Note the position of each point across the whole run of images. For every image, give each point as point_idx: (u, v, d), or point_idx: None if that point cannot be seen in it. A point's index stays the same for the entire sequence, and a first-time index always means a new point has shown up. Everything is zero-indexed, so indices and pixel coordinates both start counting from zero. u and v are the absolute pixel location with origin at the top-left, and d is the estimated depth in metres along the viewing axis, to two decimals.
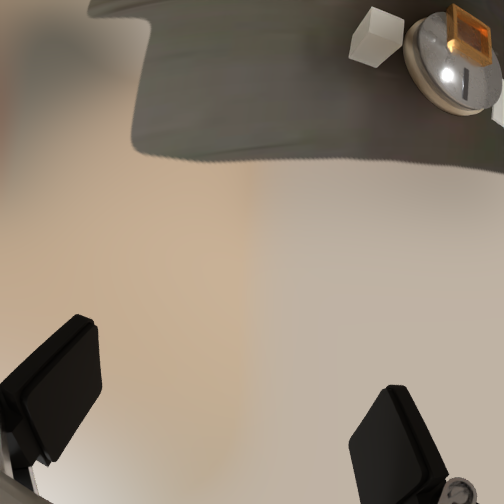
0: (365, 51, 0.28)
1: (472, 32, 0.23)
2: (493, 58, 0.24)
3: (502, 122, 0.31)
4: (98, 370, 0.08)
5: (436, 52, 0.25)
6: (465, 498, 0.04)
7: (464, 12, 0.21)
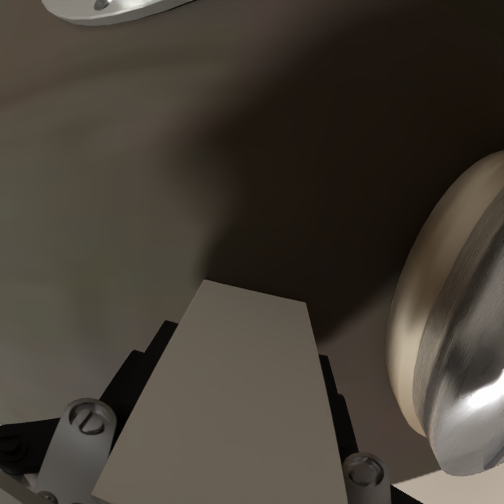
0: None
1: None
2: None
3: None
4: None
5: (491, 401, 0.06)
6: (374, 473, 0.05)
7: None
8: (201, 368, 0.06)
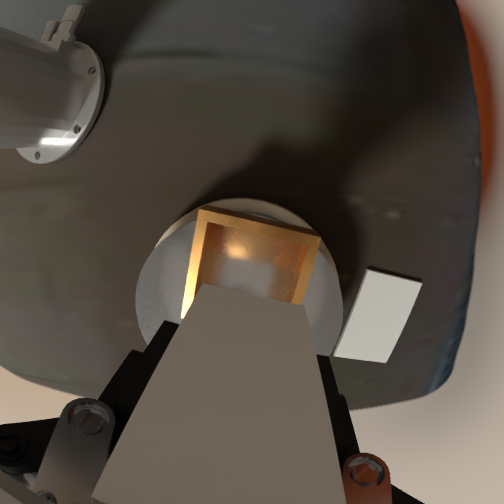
0: None
1: (273, 248, 0.19)
2: (327, 296, 0.20)
3: (358, 355, 0.26)
4: None
5: None
6: (374, 473, 0.05)
7: (233, 223, 0.16)
8: (199, 372, 0.06)
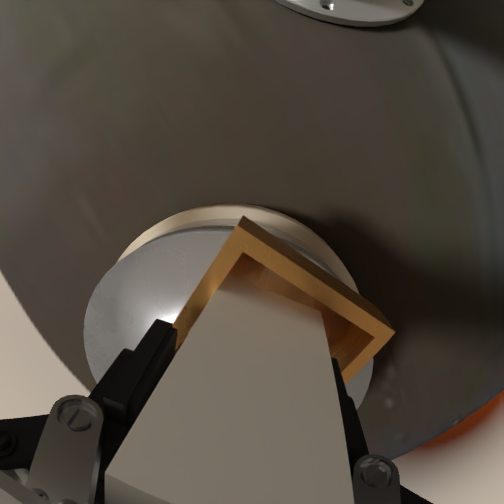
0: None
1: None
2: (350, 389, 0.13)
3: None
4: None
5: (116, 356, 0.13)
6: (384, 474, 0.05)
7: (284, 271, 0.10)
8: (223, 357, 0.07)
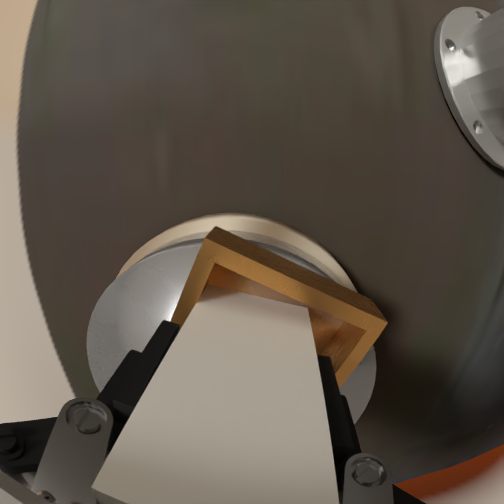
0: None
1: None
2: (356, 384, 0.13)
3: None
4: None
5: None
6: (377, 473, 0.05)
7: (259, 276, 0.09)
8: (201, 370, 0.07)
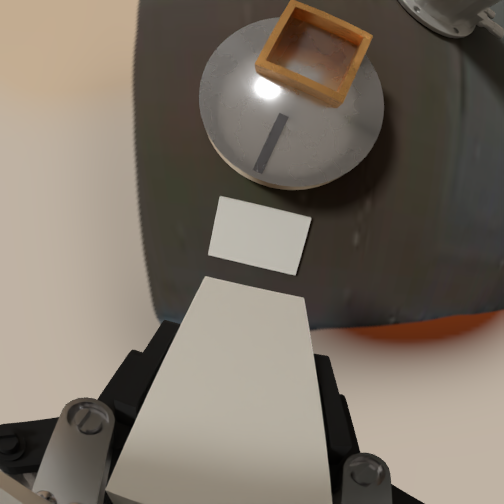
0: None
1: (334, 46, 0.19)
2: (372, 92, 0.20)
3: (219, 222, 0.29)
4: None
5: (224, 92, 0.21)
6: (375, 473, 0.05)
7: (313, 11, 0.17)
8: (201, 369, 0.07)
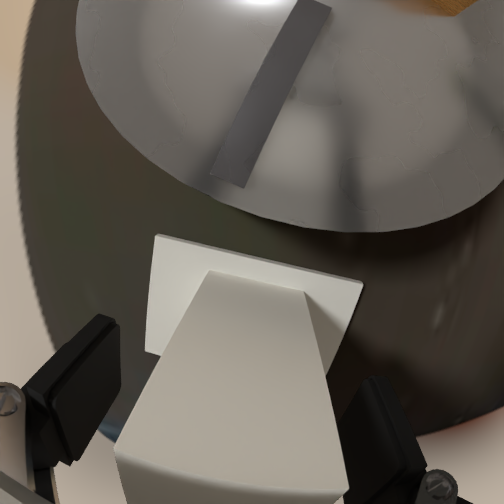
0: None
1: None
2: None
3: (159, 291, 0.13)
4: (118, 369, 0.09)
5: None
6: (445, 490, 0.04)
7: None
8: (209, 343, 0.07)
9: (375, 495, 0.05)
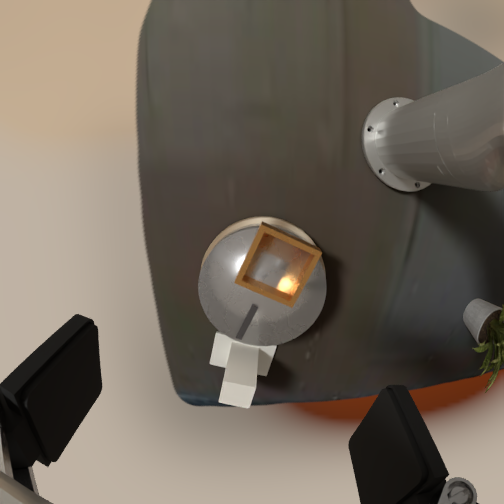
0: None
1: (293, 252, 0.33)
2: (318, 286, 0.34)
3: (216, 347, 0.42)
4: (98, 370, 0.08)
5: (215, 289, 0.35)
6: (465, 498, 0.04)
7: (278, 236, 0.30)
8: (234, 363, 0.37)
9: None
